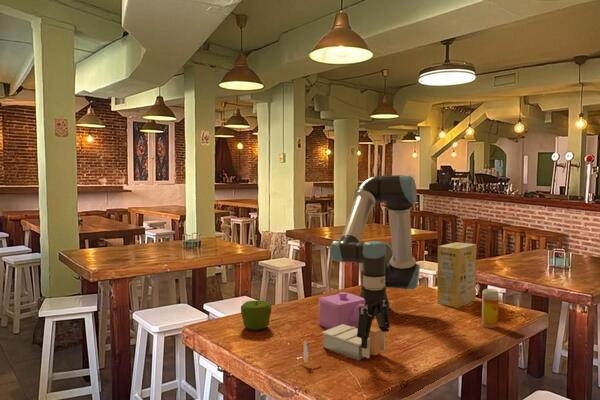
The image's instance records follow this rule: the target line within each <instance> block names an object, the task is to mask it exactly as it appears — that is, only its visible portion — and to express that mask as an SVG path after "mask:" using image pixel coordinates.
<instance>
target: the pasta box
mask: <svg viewBox="0 0 600 400" xmlns="http://www.w3.org/2000/svg"><path fill="white" fill-rule="evenodd" d="M476 270H477V244H475V243H467V242H459V241H457V242H456V241H455V242H451V243H447V244H442V245H437V294H436V295H437V299H436V301H437V302H436V303H437V304H438V305H442V306H447V307H451V308H457V309H459V308H461V307H463V306H466V305H468V304H470V303H472V302H475V301H476V292H477V291H476V289H477V288H476V283H477V282H476V281H477V280H476V279H477V271H476ZM458 307H459V308H458Z"/></svg>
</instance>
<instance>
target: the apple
mask: <svg viewBox="0 0 600 400" xmlns="http://www.w3.org/2000/svg"><path fill="white" fill-rule="evenodd" d="M240 314H241V319H242V322H243V323H242V324H243V325H244V327H245V328H247V329H248V330H251V331H261V329H262V330H265V329H266V328H267V327H268V326H269V325H270V317H271V315H272V305H271V304H270V303H269V302H267V301H265V300H255V299H254V300H248V301H245V302H244V303H243V304H242V305H240Z"/></svg>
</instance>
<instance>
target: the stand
mask: <svg viewBox="0 0 600 400" xmlns="http://www.w3.org/2000/svg"><path fill="white" fill-rule="evenodd" d="M309 346H310V344H309V342H308V341H307V340H304V341H303V359H304V362H308V359H309Z"/></svg>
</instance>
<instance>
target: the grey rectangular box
mask: <svg viewBox="0 0 600 400" xmlns="http://www.w3.org/2000/svg"><path fill="white" fill-rule="evenodd" d="M322 335H323V337H322V338H323V346H322V347H325V348H327V349H330V350H333V351H335V352H338V353H340V354H343V355H345V356H344V357H346V356H348V357H347V358H349V357H350V359H351V358H353V359H352V360H354V359H356V360H355V361H357V360H358V361H357V362H360V361H362V360H364V359H366V358H365V357H363V356H362V347H361V346H356V345H353V344H350V343H347V342H344V341H342V340H339V339H336V338H333V337H330V336H327V335H324V334H322ZM327 349H326V350H327ZM330 350H329V351H330ZM335 352H334V353H335ZM338 353H337V354H338ZM340 354H339V355H340ZM343 355H342V356H343ZM370 355H371V356H373V355H372V354H370ZM363 358H364V359H363ZM361 359H362V360H361ZM359 360H360V361H359Z"/></svg>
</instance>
